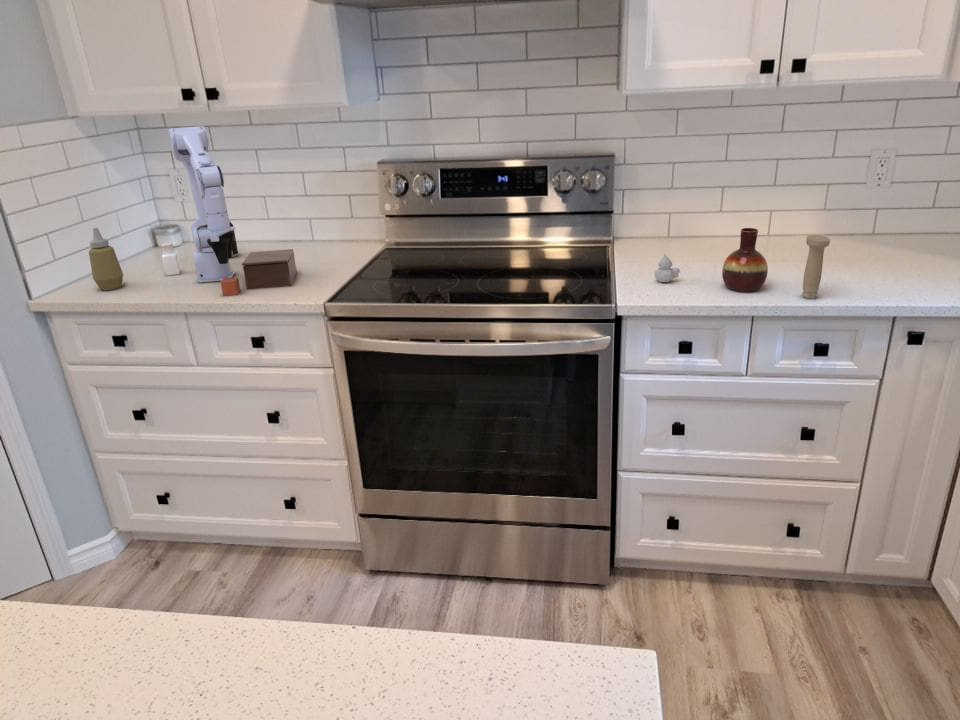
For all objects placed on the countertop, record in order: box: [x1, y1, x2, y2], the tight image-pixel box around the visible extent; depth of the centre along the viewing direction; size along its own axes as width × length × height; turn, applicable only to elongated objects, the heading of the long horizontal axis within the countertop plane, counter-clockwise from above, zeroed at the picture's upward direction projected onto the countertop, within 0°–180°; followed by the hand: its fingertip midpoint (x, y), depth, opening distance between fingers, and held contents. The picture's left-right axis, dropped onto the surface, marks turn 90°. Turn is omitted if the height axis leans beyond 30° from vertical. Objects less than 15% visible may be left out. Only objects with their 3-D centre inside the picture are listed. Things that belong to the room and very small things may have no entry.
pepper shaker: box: [160, 242, 181, 276], centre depth 216 cm, size 4×4×10 cm
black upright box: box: [229, 219, 239, 258], centre depth 232 cm, size 6×6×12 cm
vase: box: [721, 227, 769, 293], centre depth 179 cm, size 11×11×15 cm
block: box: [220, 276, 241, 297], centre depth 195 cm, size 4×4×4 cm
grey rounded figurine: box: [653, 254, 681, 283], centre depth 188 cm, size 5×7×8 cm
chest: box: [242, 250, 298, 290], centre depth 205 cm, size 14×13×7 cm
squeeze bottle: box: [88, 227, 124, 291], centre depth 202 cm, size 8×8×18 cm
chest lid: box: [241, 248, 294, 267], centre depth 203 cm, size 14×13×1 cm
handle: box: [802, 234, 831, 300], centre depth 170 cm, size 5×6×15 cm
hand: (225, 261), depth 192 cm, fingers open, 5 cm apart
